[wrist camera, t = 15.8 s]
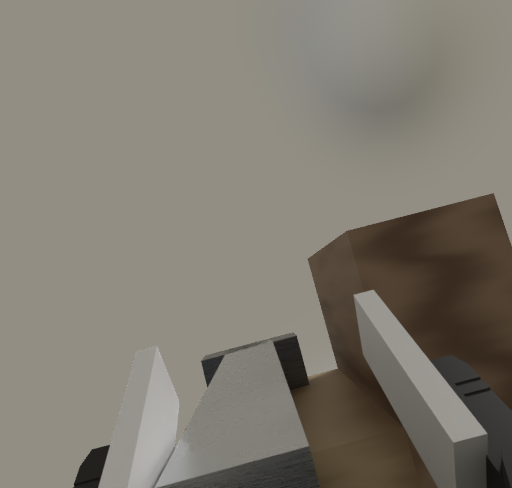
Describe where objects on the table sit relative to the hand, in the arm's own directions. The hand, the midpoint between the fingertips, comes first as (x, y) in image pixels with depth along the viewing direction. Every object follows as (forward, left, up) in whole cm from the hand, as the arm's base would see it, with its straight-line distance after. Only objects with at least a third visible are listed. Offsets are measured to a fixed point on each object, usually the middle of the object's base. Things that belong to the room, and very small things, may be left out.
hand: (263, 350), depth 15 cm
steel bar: (-1, +8, -6) cm, 10 cm away
